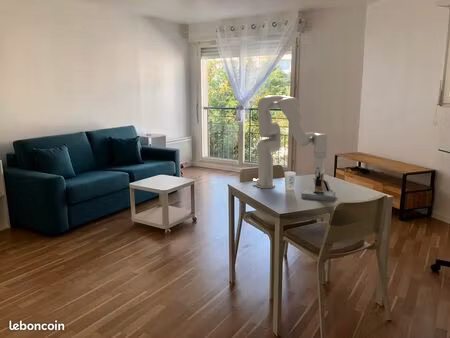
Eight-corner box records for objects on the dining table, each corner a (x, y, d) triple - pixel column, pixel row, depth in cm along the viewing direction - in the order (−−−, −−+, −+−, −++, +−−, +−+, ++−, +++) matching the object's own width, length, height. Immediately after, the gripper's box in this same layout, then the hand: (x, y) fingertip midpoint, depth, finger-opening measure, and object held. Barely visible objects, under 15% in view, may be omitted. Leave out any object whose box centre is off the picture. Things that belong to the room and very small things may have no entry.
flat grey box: (301, 198, 222) (301, 193, 222) (305, 193, 231) (305, 189, 231) (332, 201, 215) (332, 196, 214) (335, 196, 224) (335, 191, 223)
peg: (315, 190, 221) (315, 174, 219) (316, 189, 224) (316, 172, 222) (321, 191, 219) (322, 174, 217) (323, 189, 223) (323, 173, 221)
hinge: (333, 192, 232) (329, 178, 229) (326, 195, 231) (322, 181, 229) (322, 186, 248) (317, 172, 245) (315, 188, 248) (311, 175, 245)
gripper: (316, 152, 226) (315, 181, 230) (310, 156, 212) (309, 188, 215) (329, 152, 223) (328, 182, 227) (323, 157, 208) (322, 189, 212)
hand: (319, 184), depth 221 cm, fingers closed on peg, 4 cm apart
